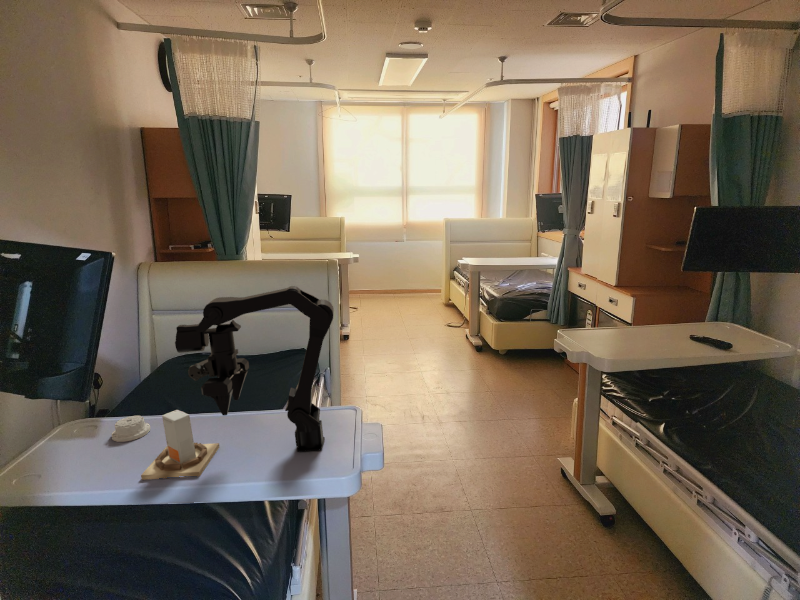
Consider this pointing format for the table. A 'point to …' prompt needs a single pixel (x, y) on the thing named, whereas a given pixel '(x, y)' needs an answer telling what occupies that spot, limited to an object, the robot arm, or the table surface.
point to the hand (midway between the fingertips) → (230, 407)
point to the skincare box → (179, 436)
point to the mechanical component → (130, 429)
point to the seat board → (171, 468)
